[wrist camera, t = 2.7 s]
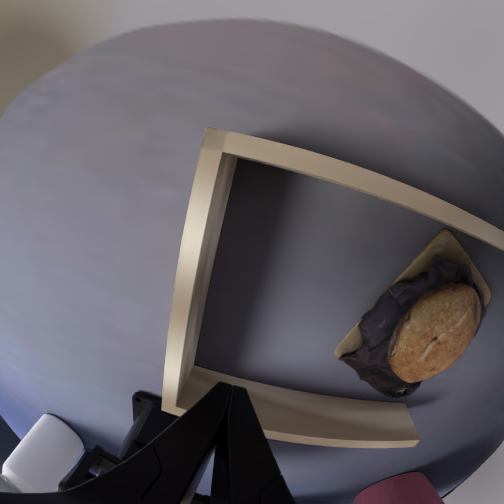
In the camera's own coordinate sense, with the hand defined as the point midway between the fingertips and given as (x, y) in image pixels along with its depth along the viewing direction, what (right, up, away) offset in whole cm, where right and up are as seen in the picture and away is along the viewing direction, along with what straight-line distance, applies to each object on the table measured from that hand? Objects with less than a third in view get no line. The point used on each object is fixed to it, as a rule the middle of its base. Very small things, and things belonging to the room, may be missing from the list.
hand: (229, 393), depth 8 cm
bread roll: (+12, 0, +8) cm, 14 cm away
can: (-22, -18, +16) cm, 32 cm away
